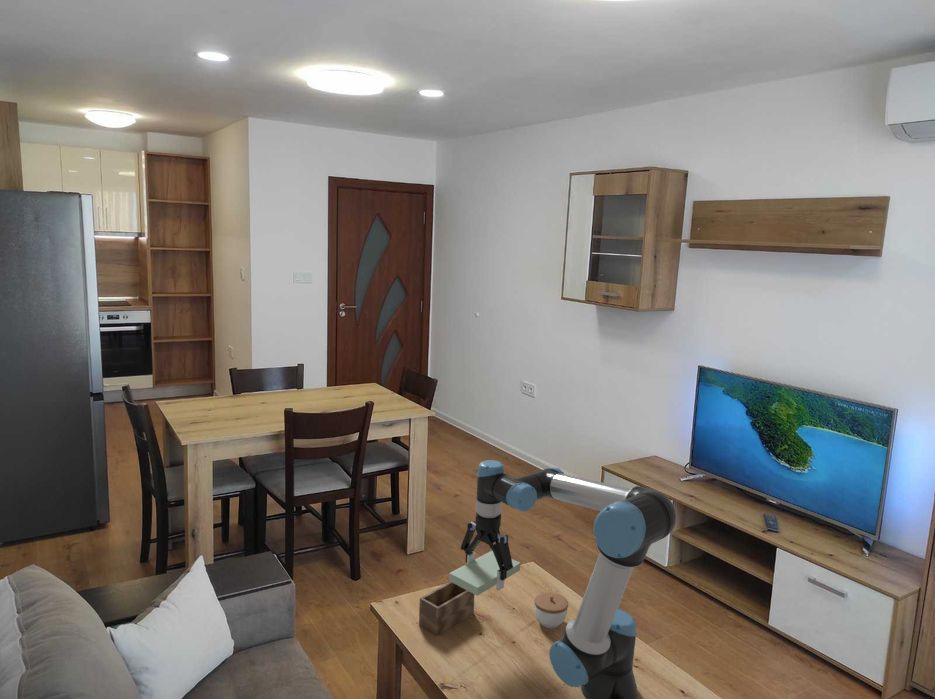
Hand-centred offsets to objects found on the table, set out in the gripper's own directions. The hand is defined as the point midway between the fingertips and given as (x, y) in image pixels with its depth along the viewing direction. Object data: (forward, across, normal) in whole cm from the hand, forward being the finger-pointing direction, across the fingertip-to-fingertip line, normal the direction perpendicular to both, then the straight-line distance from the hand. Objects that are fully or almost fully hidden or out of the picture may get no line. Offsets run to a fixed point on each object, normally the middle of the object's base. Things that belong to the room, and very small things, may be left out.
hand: (484, 581), depth 201 cm
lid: (-2, 0, 0) cm, 2 cm away
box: (+20, +15, 0) cm, 25 cm away
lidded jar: (+20, -9, -23) cm, 32 cm away
